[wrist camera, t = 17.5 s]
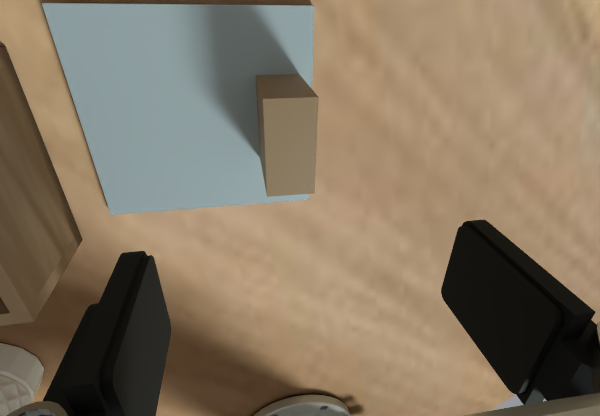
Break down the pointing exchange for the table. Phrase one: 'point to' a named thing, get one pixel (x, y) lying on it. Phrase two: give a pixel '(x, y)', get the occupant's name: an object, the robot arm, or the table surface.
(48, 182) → the toolbox
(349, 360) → the table surface
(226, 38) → the lid
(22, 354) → the white cup
